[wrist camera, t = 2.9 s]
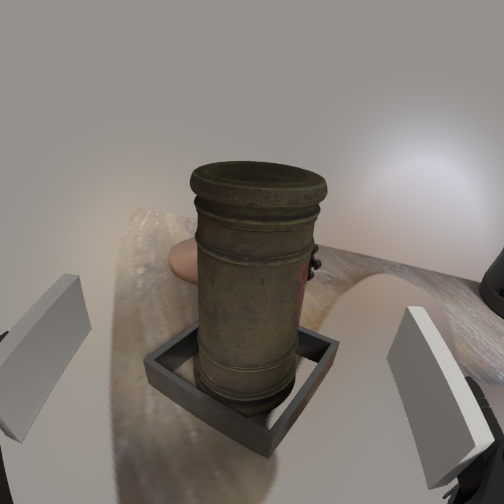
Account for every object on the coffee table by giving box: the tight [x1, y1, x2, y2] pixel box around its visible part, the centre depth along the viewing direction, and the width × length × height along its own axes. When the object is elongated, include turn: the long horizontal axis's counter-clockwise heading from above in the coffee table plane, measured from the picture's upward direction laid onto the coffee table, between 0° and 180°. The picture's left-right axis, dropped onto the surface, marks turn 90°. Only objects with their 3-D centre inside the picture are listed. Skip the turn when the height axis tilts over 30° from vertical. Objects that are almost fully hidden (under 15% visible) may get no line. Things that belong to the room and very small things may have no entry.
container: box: [190, 161, 327, 416], centre depth 23 cm, size 9×9×18 cm
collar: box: [143, 321, 340, 458], centre depth 26 cm, size 12×12×3 cm
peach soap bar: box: [169, 238, 198, 284], centre depth 46 cm, size 12×12×2 cm
